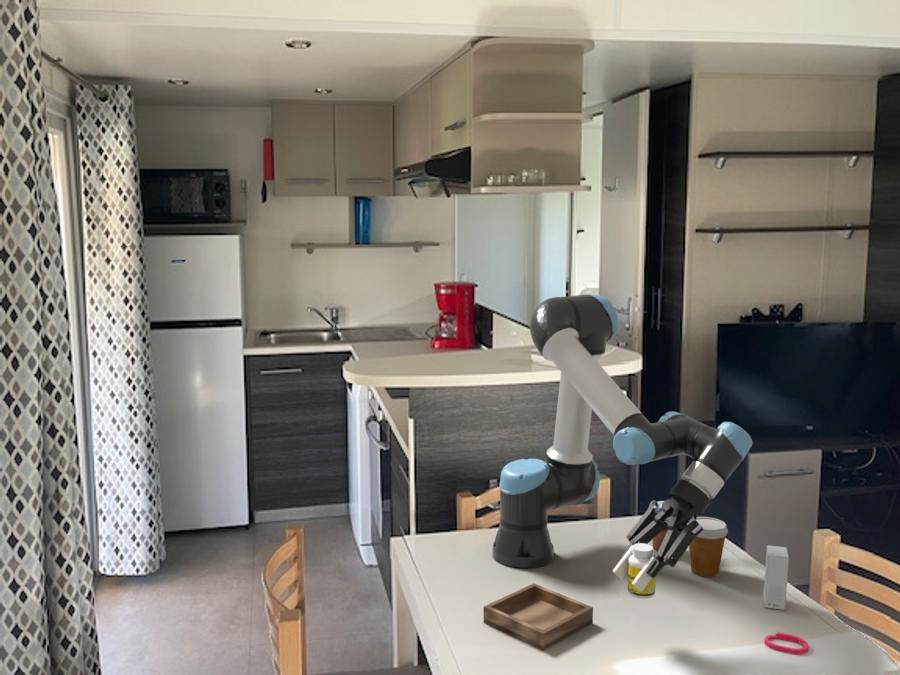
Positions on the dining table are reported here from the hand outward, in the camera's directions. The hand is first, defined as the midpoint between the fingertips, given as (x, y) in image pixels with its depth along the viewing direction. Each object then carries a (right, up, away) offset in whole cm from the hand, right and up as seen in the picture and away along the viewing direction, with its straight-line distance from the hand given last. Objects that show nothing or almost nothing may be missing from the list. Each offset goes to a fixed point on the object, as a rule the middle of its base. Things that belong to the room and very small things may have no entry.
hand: (626, 581), depth 169 cm
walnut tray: (-16, -11, +9) cm, 22 cm away
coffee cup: (+19, -6, +47) cm, 51 cm away
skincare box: (+36, -10, +19) cm, 42 cm away
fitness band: (+31, -13, 0) cm, 34 cm away
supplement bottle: (+3, -3, +2) cm, 5 cm away
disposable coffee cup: (+26, -8, +35) cm, 44 cm away
